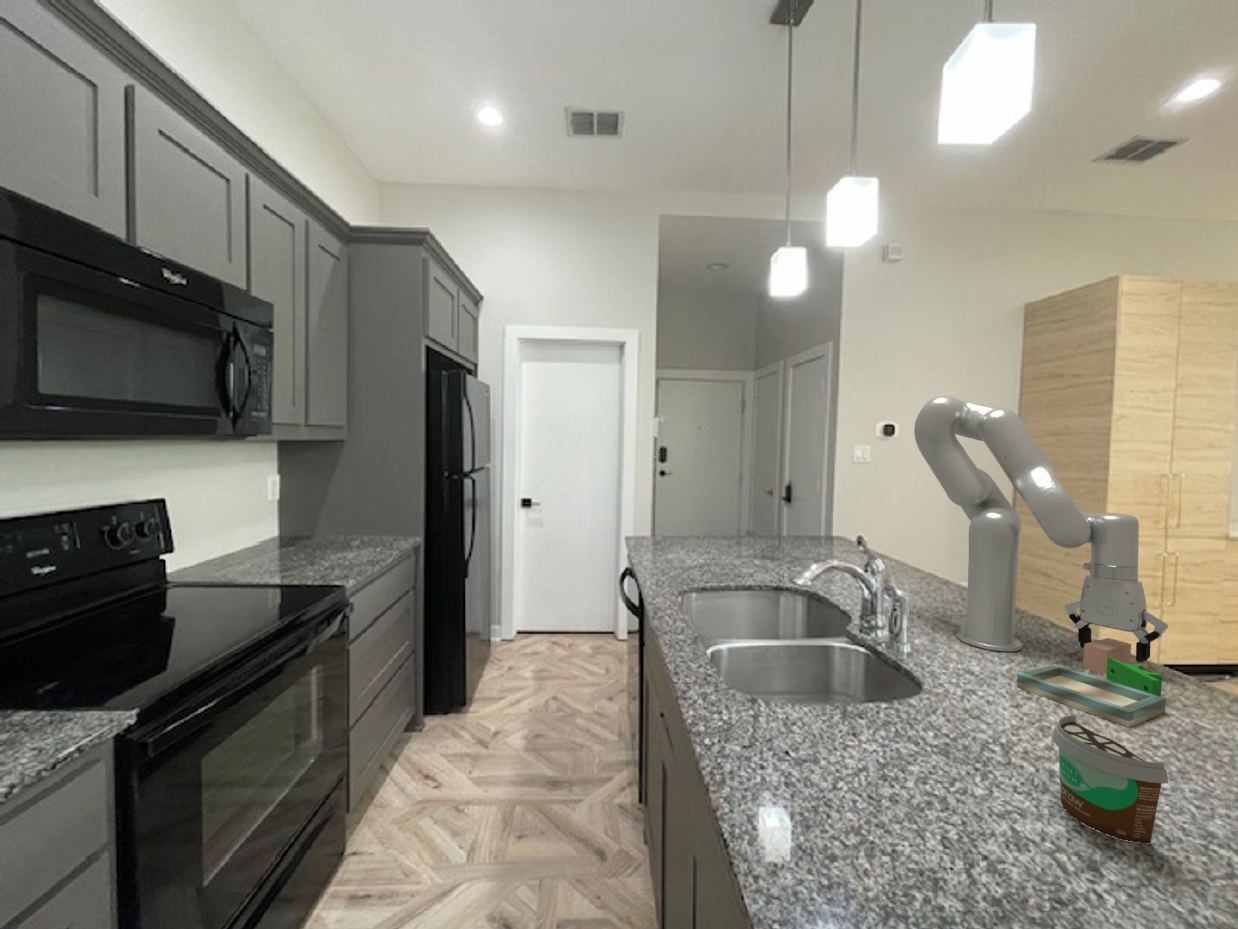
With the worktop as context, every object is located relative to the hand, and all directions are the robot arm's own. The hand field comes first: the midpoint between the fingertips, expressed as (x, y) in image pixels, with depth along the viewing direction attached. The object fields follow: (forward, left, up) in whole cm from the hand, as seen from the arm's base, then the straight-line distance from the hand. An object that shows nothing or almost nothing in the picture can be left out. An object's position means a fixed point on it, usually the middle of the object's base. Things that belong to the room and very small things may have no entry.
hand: (1112, 653), depth 120 cm
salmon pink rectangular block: (-1, 0, -3) cm, 3 cm away
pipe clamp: (+8, -10, -3) cm, 14 cm away
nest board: (+6, -24, -3) cm, 25 cm away
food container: (+24, -64, -3) cm, 69 cm away
